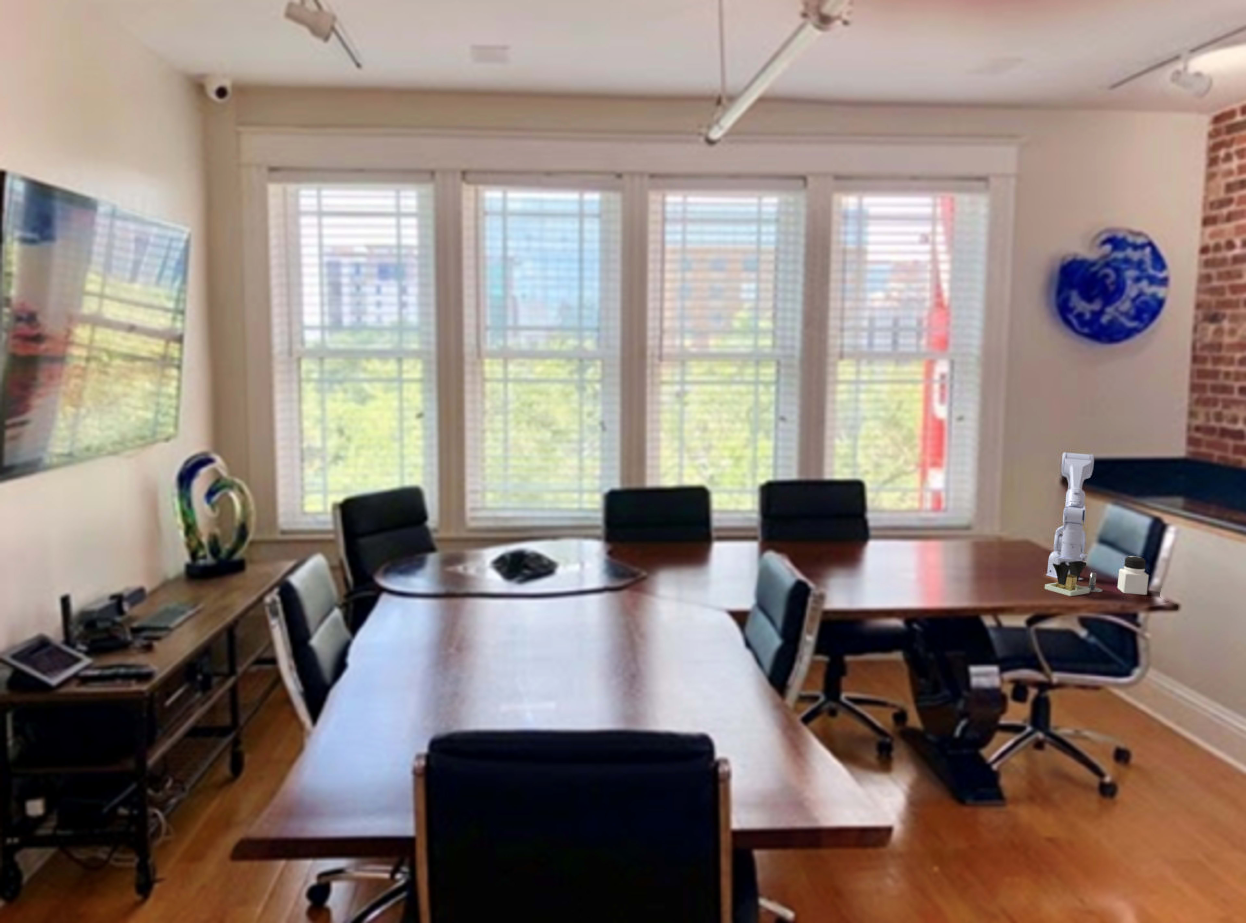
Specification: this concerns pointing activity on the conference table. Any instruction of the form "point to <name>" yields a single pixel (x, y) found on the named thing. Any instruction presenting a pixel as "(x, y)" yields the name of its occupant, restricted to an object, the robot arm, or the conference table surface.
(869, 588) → the conference table surface
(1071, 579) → the collar
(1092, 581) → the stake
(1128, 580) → the medicine bottle
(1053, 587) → the tray
